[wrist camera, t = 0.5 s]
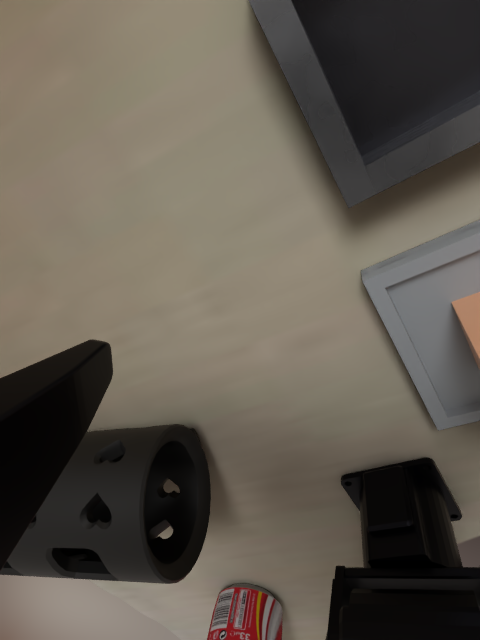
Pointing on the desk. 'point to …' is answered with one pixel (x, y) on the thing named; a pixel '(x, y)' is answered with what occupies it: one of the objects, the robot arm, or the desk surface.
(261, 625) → the soda can
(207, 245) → the desk surface
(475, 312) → the plug
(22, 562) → the muzzle brake
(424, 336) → the tray
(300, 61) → the socket
